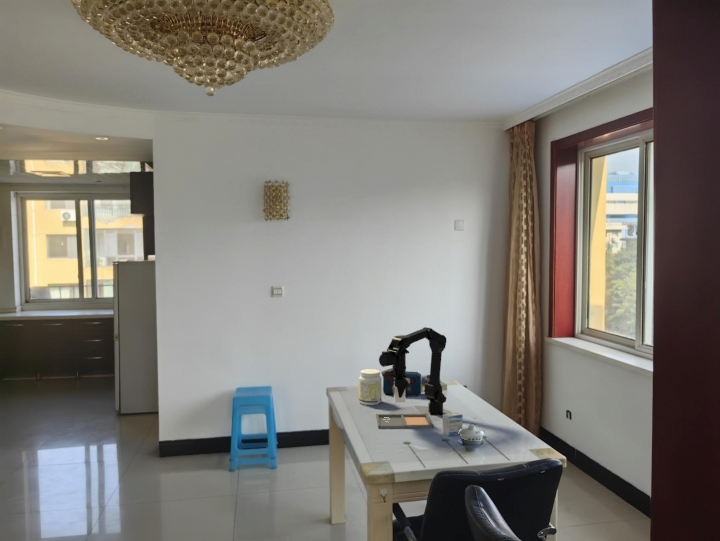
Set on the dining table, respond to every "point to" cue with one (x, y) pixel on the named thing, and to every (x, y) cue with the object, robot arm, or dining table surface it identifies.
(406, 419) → the dock
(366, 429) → the dining table surface
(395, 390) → the plug
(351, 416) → the dining table surface
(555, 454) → the dining table surface
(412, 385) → the radio
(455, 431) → the medicine box
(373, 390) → the supplement tub
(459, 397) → the dining table surface
